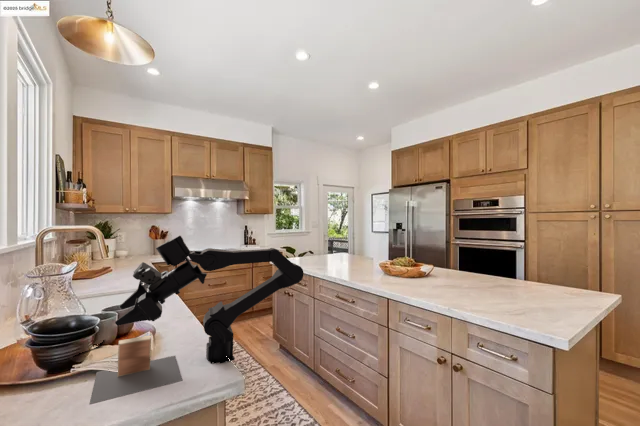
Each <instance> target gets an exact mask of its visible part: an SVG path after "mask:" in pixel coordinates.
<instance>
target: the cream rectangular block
mask: <svg viewBox="0 0 640 426" xmlns="http://www.w3.org/2000/svg"><path fill="white" fill-rule="evenodd" d="M117 350H118V351H117V352H118V353H117V368H118V373H117V377H119V376H123V375H128V374H132V373H137V372H141V371H146V370H150V361H151V357H152V356H151V353H152V352H151V351H152V336H151V335H145V336H143V335H142V336H138V337H133V338H127V339H120V340H118V349H117Z"/></svg>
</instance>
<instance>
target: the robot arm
mask: <svg viewBox="0 0 640 426" xmlns="http://www.w3.org/2000/svg"><path fill="white" fill-rule="evenodd" d="M155 249H156V251H157V252H158V254H159V255H160V257H161V258H162V260H163V261H164V263H165V264H166V266H173V267H175V268H174V269H172V270H170V271H168V270H164V271H163V272H160V271H159V270H157V269H156V268H154V267H152V266H151V265H149V264H148V263H146V262H143V261H142V262H141V263H140V264H139V265H138V266H137V268H136V269H135V270H134V271H133V273H132V274H133V275H132V277H133V278H134V279H136V280H138V281H139V283H138V287H137V289H136V290H135V291H134V292H133V293H132V294H131V295H130V296H129V297H128V298H126V299H125V300H124V301H123V302H122V303H121V304H120V305H119V308H120V309H121V310H125V309H127V308H128V309H129V308H130V309H129V310H127V312H125V313H124V314H122V315H121V316H120V317H119V318H118V319H117V320H115V322H114V324H115V325H116V326H122V325H127V324H132V323H136V322H138V323H139V322H144V321H147V322H148V321H149V322H150V321H151V322H155V321H156V320H158V319H160V318H161V317H162V313H163V304H164V303H166V299H168V298H169V297H171V296H173V295H174V294H175V295H178V294H180V293H181V291H180V290H182V289H184V288H186V287H187V286H188V285H190V284H191V283H193V282H195V281H196V280H199V282H200V284H201V285H203V284H205V280H206V277H207V276H208V274H207V272H212V271H217V270H221V269H224V268H227V267H230V266H233V265H235V266H236V265H245V264H259V263H269V262H270V263H272V264H273V265H274V266H275V267H276V268H277V270H276V271H275V272H274V273H273V275H272V276H271V277H270V278H268V279H266V280H265V281H263V282H262V283H260V284H258V285H257V286H256V287H254V288H252V289H251V290H249V291H247V292H245V294H242V295H241V296H240V297H238V298H236V299H235V300H234V301H232V302H230V303H226V304H223V301H219V302H218V303H217V304H215V305H214V306H212V307H209V308H208V311H206V313H205V314H204V316H203V321H202V322H203V323H202V324H203V330H204V333H205V334H206V335H207V336H208V342H207V343H206V349H205V350H206V352H205V354H206V355H205V356H206V360H207V361H208V362H210V364H211V365H214V364H218V363H219V364H223V363H228V362H232V361H235V359H236V358H235V356H234V331H233V328H232V324H233V323H234V322H235V321H236V320H237V319H238V317H239V316H241V315H243V314H244V313H246V312H247V311H248V310H250V309H252V308H253V307H255V306H256V305H257V304H259V303H261V302H262V301H263V300H265V299H267V298H269V297H270V296H272V295H273V294H274V293H276V292H277V291H279V290H282V289H286V288H289V287H292V286H295V285H296V284H298V283H301V282H302V280H303V277H304V270H303V268H302V266H300V265H299V264H296V263H294V262H291V261H290V260H289V259H288V258H287V257H285V256H284V254H282V253H281V251H280V250H279V249H277V248H275V247H271V248H263V249H246V250H243V249H242V250H227V249H219V248H211V247H210V248H209V247H208V248H205V249H203V250H190V248H189V247H188V245H186V243H185V241H184V239H183V237H182V235H178V236H176V237H174V238H173V239H171V240H167V241H165V242H164V243H162V244H160V245H158V246H157V247H155ZM184 261H185V262H184ZM193 263H195V264H193ZM176 266H177V267H176ZM199 266H200V267H199ZM201 269H203V271H206V272H203V271H202V270H201ZM226 356H227V357H226ZM228 358H229V359H230V361H229V359H228Z"/></svg>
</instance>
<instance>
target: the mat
mask: <svg viewBox="0 0 640 426" xmlns="http://www.w3.org/2000/svg"><path fill="white" fill-rule="evenodd" d="M117 373H118V372H109V371H104V370H100V371H96V374H95V379H94V383H93V387H92V391H91V395H90V396H91V397H90V401H89V405H93V404H97V403H101V402H105V401H108V400H111V399H112V400H113V399H116V398H120V397H124V396H127V395H128V396H129V395H132V394H135V393H139V392H140V393H141V392H144V391H148V390H152V389H155V388H160V387H162V386H167V385H171V384H175V383H178V382H183V377H182V373H181V369H180V367H179V363H178V360H177V356H176V355H170V356H167V357H162V358H156V359H152V360H151V359H150V370H146V371H141V372H137V373H132V374H128V375H123V376H119V377H117Z"/></svg>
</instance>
